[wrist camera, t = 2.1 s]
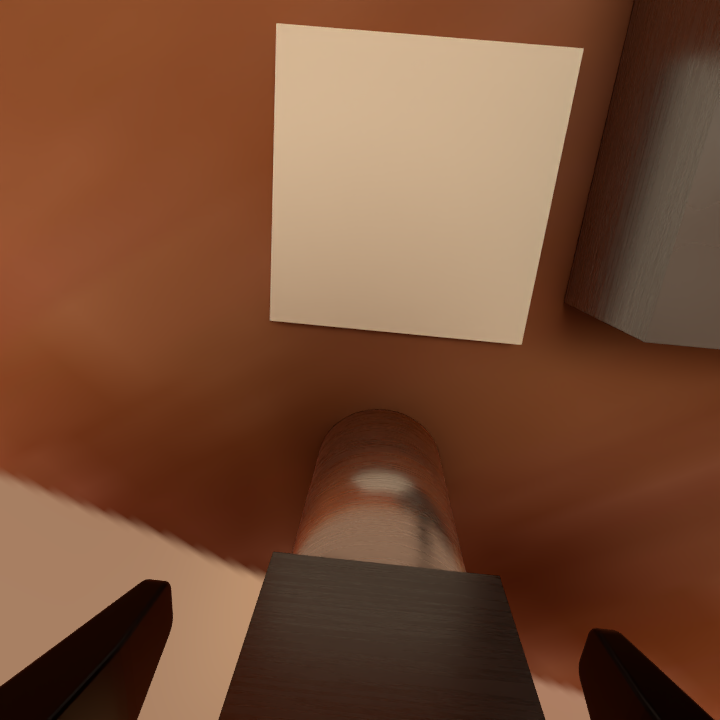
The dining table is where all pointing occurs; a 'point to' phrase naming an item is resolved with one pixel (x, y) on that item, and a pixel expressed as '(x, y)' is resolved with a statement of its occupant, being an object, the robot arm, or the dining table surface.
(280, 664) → the dark square post
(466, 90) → the pad
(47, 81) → the dining table surface
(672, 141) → the block
